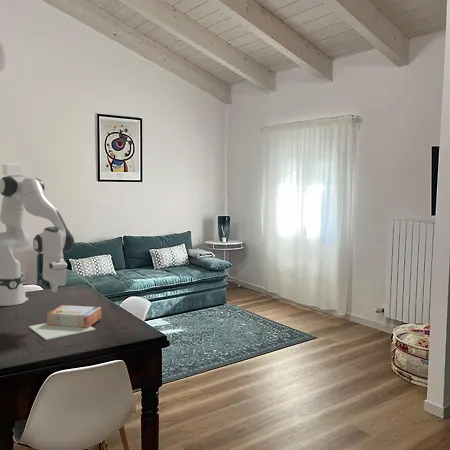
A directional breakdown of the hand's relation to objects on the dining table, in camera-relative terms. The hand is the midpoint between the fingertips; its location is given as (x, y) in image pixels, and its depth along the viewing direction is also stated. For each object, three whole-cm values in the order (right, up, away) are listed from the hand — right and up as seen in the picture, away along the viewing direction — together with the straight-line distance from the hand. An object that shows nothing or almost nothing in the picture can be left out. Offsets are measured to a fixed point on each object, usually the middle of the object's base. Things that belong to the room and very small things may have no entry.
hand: (54, 291), depth 217 cm
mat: (+5, -16, -5) cm, 18 cm away
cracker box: (-2, -12, +5) cm, 13 cm away
